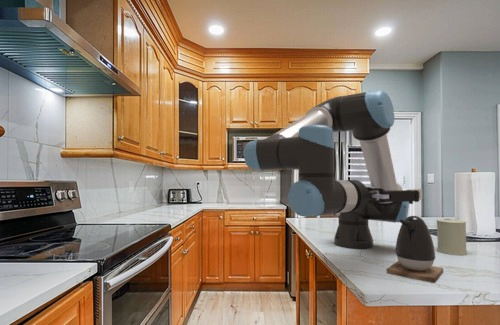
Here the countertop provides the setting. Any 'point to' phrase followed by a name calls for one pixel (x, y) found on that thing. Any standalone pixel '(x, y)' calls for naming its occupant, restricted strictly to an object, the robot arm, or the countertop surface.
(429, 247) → the pump dispenser
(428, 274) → the walnut board
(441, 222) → the can
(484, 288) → the countertop surface
